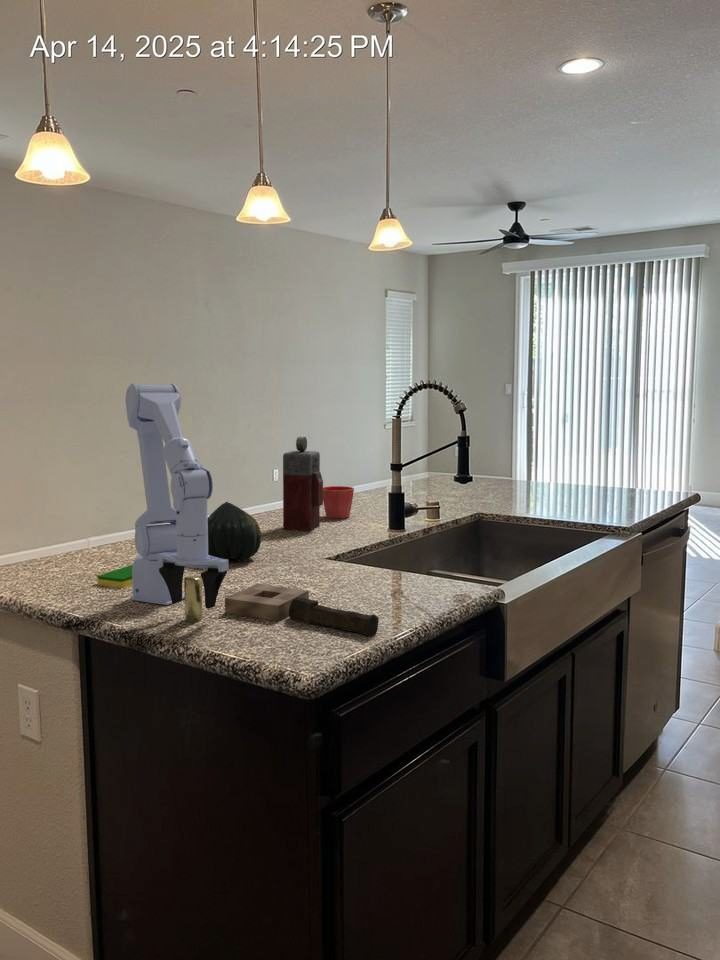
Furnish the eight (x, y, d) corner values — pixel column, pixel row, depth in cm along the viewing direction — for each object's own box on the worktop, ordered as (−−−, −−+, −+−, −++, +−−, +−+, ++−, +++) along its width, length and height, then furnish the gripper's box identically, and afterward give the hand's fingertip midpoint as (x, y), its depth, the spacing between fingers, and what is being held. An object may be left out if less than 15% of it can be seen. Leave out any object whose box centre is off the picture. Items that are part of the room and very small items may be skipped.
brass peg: (181, 620, 149) (180, 579, 148) (191, 616, 151) (191, 575, 150) (195, 623, 147) (194, 581, 146) (205, 618, 150) (205, 577, 149)
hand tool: (380, 634, 143) (380, 609, 142) (367, 640, 139) (368, 614, 139) (298, 616, 153) (298, 593, 153) (285, 621, 150) (285, 597, 150)
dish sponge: (96, 586, 174) (96, 575, 174) (137, 572, 187) (137, 562, 187) (122, 590, 171) (122, 579, 171) (162, 575, 184) (161, 565, 184)
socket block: (225, 613, 154) (224, 598, 153) (257, 598, 164) (257, 583, 164) (279, 621, 149) (278, 605, 148) (308, 605, 160) (308, 590, 159)
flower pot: (316, 515, 266) (316, 486, 265) (346, 513, 271) (346, 485, 270) (328, 520, 257) (328, 490, 255) (359, 518, 261) (359, 489, 260)
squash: (244, 547, 188) (256, 494, 197) (185, 546, 191) (199, 495, 200) (260, 575, 200) (271, 524, 208) (205, 574, 203) (217, 524, 211)
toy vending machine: (318, 531, 237) (318, 438, 234) (282, 529, 240) (282, 437, 237) (326, 526, 246) (327, 436, 242) (292, 524, 249) (292, 435, 245)
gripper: (146, 534, 147) (148, 605, 148) (212, 541, 141) (213, 615, 142) (170, 527, 153) (172, 596, 155) (234, 534, 147) (235, 605, 149)
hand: (193, 604), depth 149 cm, fingers open, 7 cm apart
